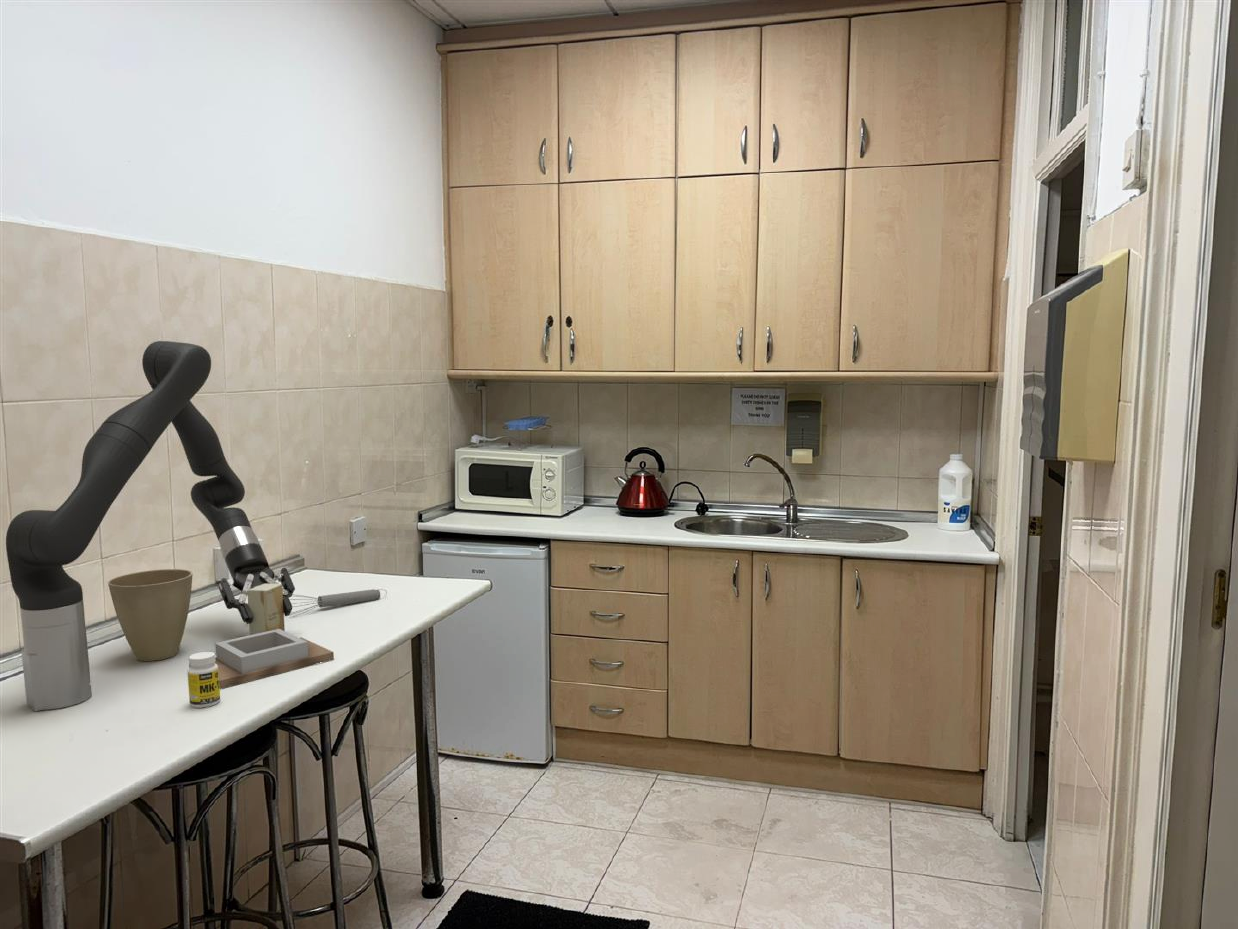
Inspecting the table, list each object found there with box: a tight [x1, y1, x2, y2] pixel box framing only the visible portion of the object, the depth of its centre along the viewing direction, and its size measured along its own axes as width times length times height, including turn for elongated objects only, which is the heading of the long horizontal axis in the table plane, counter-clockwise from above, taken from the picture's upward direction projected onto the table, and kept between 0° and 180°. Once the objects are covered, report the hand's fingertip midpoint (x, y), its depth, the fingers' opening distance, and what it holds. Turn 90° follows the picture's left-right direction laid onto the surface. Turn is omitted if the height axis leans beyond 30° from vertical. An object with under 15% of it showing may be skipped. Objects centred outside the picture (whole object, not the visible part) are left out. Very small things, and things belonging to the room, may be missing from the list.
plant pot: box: [107, 568, 194, 662], centre depth 182 cm, size 15×15×16 cm
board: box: [188, 636, 335, 690], centre depth 175 cm, size 22×14×2 cm, turn 134°
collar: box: [214, 629, 308, 674], centre depth 175 cm, size 12×12×3 cm
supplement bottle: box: [187, 651, 221, 709], centre depth 156 cm, size 5×5×8 cm
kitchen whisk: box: [284, 588, 388, 619], centre depth 213 cm, size 6×34×6 cm, turn 131°
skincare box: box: [247, 583, 286, 635], centre depth 187 cm, size 6×4×12 cm
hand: (269, 617), depth 186 cm, fingers closed on skincare box, 7 cm apart
